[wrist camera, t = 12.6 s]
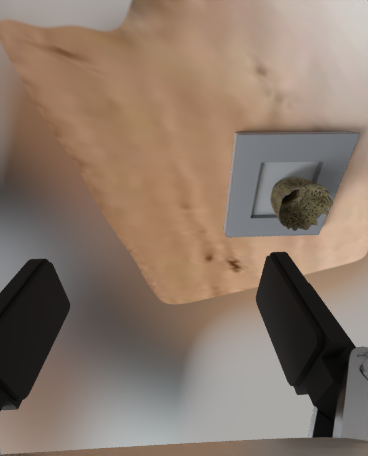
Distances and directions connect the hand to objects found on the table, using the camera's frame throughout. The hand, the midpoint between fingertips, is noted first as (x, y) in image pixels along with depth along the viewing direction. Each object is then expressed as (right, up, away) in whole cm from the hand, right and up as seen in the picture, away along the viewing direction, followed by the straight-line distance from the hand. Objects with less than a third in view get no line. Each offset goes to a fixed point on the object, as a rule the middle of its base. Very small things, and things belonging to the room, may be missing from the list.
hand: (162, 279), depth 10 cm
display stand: (+18, +10, +28) cm, 35 cm away
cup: (+18, +9, +27) cm, 34 cm away
